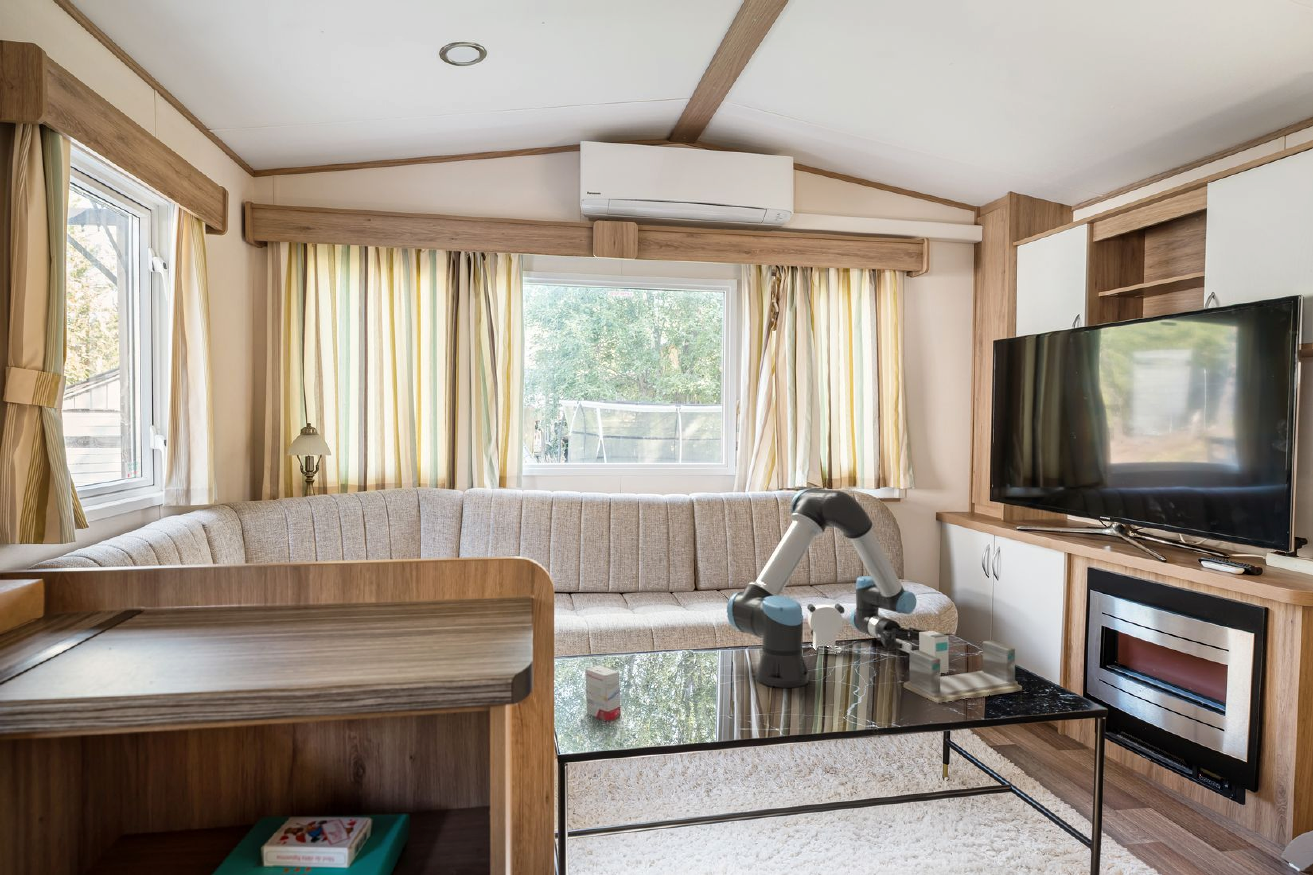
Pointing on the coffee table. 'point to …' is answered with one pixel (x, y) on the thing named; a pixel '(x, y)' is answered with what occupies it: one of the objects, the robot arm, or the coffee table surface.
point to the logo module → (935, 647)
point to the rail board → (964, 676)
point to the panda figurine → (825, 624)
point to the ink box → (603, 693)
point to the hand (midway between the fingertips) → (928, 646)
